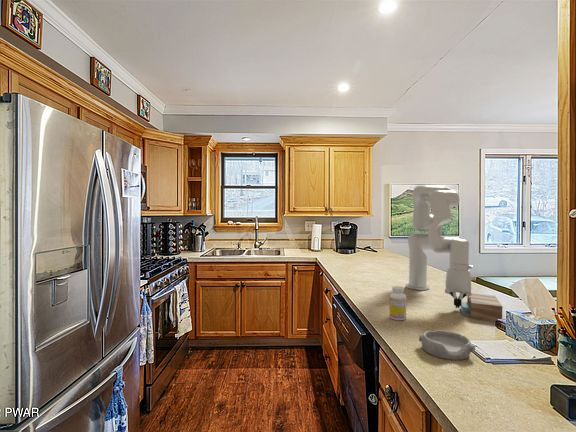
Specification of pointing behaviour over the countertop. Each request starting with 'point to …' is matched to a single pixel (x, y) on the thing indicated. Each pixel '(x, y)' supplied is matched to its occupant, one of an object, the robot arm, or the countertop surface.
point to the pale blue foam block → (465, 307)
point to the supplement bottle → (397, 304)
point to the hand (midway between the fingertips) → (457, 307)
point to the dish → (446, 344)
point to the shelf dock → (484, 307)
